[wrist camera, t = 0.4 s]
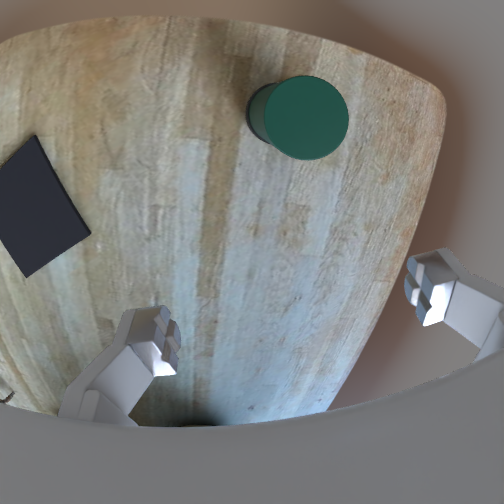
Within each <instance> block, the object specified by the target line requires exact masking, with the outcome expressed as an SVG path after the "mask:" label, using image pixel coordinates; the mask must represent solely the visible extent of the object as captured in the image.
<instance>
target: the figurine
mask: <svg viewBox="0 0 504 504" xmlns="http://www.w3.org/2000/svg"><path fill="white" fill-rule="evenodd" d="M13 394H15V393H14V392H12V393H11V394H10V395H8V397H6V398H5V399H4V400H1V399H0V403H3V404H6V403H8V402H9V401H10V400H11V398H12V397H13ZM11 396H12V397H11Z"/></svg>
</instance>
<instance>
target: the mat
mask: <svg viewBox="0 0 504 504" xmlns="http://www.w3.org/2000/svg"><path fill="white" fill-rule="evenodd" d="M90 234H91V232H90V230H89V229H88V227H87V226H86V224H85V222H84V221H83V219H82V218H81V216H80V214H79V213H78V211H77V210H76V208H75V206H74V205H73V203H72V201H71V200H70V198H69V196H68V194H67V193H66V191H65V189H64V188H63V186H62V184H61V182H60V180H59V179H58V177H57V175H56V173H55V171H54V169H53V168H52V166H51V164H50V162H49V160H48V158H47V156H46V154H45V152H44V150H43V148H42V146H41V144H40V142H39V140H38V138H37V136H36V135H34V136H33V137H32V138H30V139H29V140H28V141H27V142H26V143H25V144H24V145H23V146H22V147H21V148H20V149H19V150H18V151H17V152H16V153H15V154H14V155H13V156H12V157H11V158H10V159H9V161H8V162H7V163H6V164H5V165H4V166H3V167H2V168H1V169H0V240H1V241H2V243H3V245H4V246H5V248H6V249H7V251H8V252H9V254H10V255H11V257H12V258H13V260H14V261H15V263H16V264H17V266H18V267H19V269H20V270H21V272H22V273H23V274H24V276H25V277H26V278H27V277H29V276H30V275H32V274H33V273H34V272H36V271H37V270H39V269H40V268H41V267H43V266H44V265H46V264H47V263H49V262H50V261H51V260H53V259H54V258H56V257H57V256H59V255H60V254H62V253H63V252H65V251H66V250H68V249H69V248H71V247H72V246H74V245H75V244H77V243H78V242H80V241H82V240H83V239H85V238H86V237H88V236H89V235H90Z"/></svg>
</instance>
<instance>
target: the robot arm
mask: <svg viewBox="0 0 504 504" xmlns="http://www.w3.org/2000/svg"><path fill="white" fill-rule="evenodd" d="M407 268H408V269H409V273H408V274H407V276H406V277H405V284H404V286H405V293H406V296H407V299H408V300H409V302H410V303H411V304H412V305H414V306H416V315H417V316H418V318H419V320H420V322H421V324H422V325H423V326H427V325H430V324H433V323H436V322H440V321H443V320H444V322H445V323H446V324H448V325H449V326H450V327H452V328H453V329H455V330H456V331H457V332H459V333H460V334H461V335H463V336H464V337H465V338H467V339H468V340H470V341H471V342H472V343H474V344H475V345H476V346H478V347H479V348H480V350H479V352H478V354H477V356H476V357H475V360H474V362H473V363H472V364H469V365H467V366H465V367H463V368H460V369H458V370H456V371H453V372H451V373H449V374H446V375H444V376H441V377H439V378H436V379H434V380H431V381H429V382H426V383H423V384H421V385H418V386H415V387H412V388H410V389H406V390H403V391H401V392H398V393H394V394H391V395H388V396H385V397H381V398H378V399H374V400H371V401H367V402H363V403H360V404H356V405H352V406H348V407H344V408H340V409H335V410H331V411H326V412H321V413H316V414H311V415H306V416H300V417H294V418H288V419H281V420H274V421H267V422H258V423H249V424H239V425H226V426H209V427H144V426H138V425H137V423H136V422H134V421H133V420H132V419H131V418H129V417H128V414H129V413H130V412H131V410H132V409H133V407H134V406H135V404H136V403H137V402H138V400H139V399H140V397H141V396H142V395H143V393H144V392H145V390H146V389H147V387H148V386H149V385H150V383H151V382H152V380H153V379H154V376H163V375H174V374H176V373H177V366H178V360H179V358H178V357H177V355H176V354H175V353H176V352H177V351H178V350H179V349H180V346H181V334H180V330H179V327H178V325H177V323H176V322H175V321H173V320H172V319H170V314H171V313H170V311H169V309H168V308H167V306H164V305H161V306H153V307H145V308H138V309H130V310H126V311H125V312H124V313H123V315H122V318H121V321H120V323H119V326H118V329H117V332H116V334H115V337H114V340H113V343H112V345H110V346H107V347H106V348H105V349H104V350H103V351H102V352H101V353H100V354H99V355H98V356H97V357H96V358H95V359H94V360H93V361H92V362H91V363H90V364H89V365H88V366H87V367H86V368H85V369H84V370H83V371H82V372H81V373H80V374H79V375H78V376H77V377H76V378H75V379H74V380H73V381H72V382H71V383H70V384H69V385H68V386H67V388H66V391H65V394H64V397H63V400H62V403H61V406H60V409H59V412H58V416H52V415H47V414H42V413H38V412H33V411H29V410H25V409H21V408H17V407H14V406H10V405H7V404H3V403H0V504H504V288H503V287H501V286H498V285H496V284H494V283H492V282H490V281H488V280H486V279H484V278H482V277H479V276H477V275H475V274H474V275H471V274H470V273H469V272H468V271H467V270H466V268H465V267H464V266H463V265H462V263H461V262H460V261H459V260H458V259H457V258H456V256H455V255H454V254H453V253H452V252H451V251H450V250H449V249H448V248H446V247H444V248H441V249H437V250H434V251H431V252H427V253H423V254H419V255H415V256H411V257H409V259H408V261H407Z"/></svg>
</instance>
